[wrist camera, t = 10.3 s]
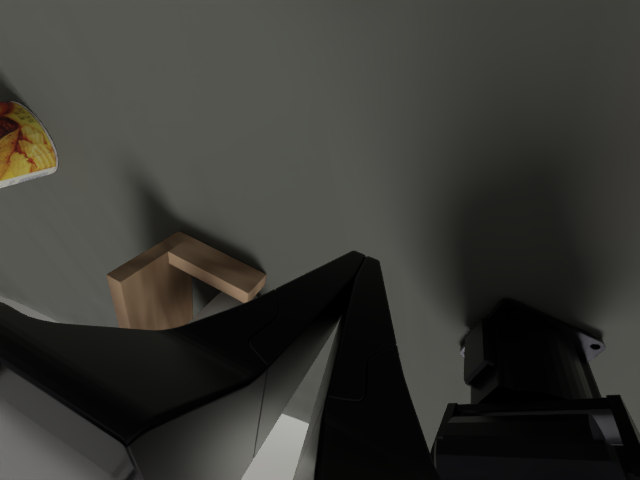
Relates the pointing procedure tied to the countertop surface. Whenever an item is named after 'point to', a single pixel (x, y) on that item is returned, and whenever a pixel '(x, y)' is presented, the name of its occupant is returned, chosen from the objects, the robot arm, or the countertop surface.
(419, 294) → the countertop surface
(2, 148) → the canned food
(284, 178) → the countertop surface
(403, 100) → the countertop surface
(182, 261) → the roll cradle
